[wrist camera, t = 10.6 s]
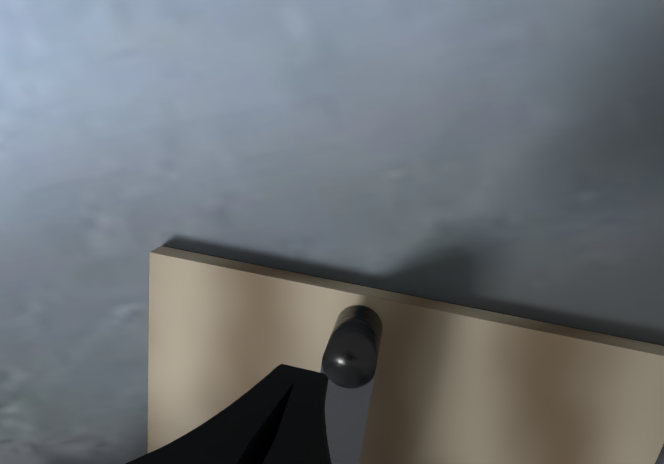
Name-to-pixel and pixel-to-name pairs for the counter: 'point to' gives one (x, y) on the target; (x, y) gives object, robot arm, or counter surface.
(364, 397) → the grey lever handle
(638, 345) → the base
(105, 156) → the counter surface
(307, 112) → the counter surface
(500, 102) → the counter surface
